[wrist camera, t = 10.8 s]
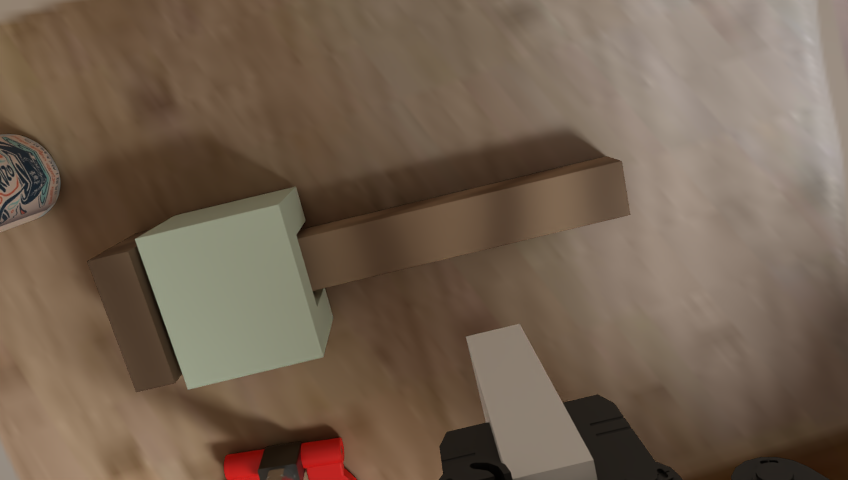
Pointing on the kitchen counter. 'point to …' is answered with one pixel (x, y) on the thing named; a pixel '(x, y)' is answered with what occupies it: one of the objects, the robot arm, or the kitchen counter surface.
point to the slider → (236, 288)
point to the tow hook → (290, 462)
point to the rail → (376, 247)
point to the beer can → (25, 181)
